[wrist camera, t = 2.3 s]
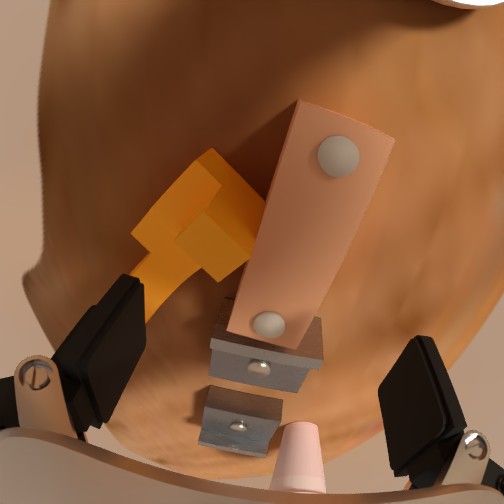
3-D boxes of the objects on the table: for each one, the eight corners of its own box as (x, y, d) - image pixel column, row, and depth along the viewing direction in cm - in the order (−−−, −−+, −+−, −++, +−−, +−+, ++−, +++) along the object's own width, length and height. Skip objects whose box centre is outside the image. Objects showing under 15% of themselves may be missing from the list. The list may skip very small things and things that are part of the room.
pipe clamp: (212, 147, 17) (170, 179, 11) (265, 200, 18) (250, 257, 12) (108, 262, 22) (62, 316, 16) (150, 300, 23) (115, 361, 17)
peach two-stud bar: (298, 99, 15) (300, 102, 10) (367, 124, 15) (398, 140, 10) (240, 279, 21) (225, 335, 16) (297, 296, 21) (295, 354, 16)
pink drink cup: (281, 443, 32) (270, 547, 20) (263, 419, 29) (245, 540, 17) (334, 436, 30) (333, 545, 18) (323, 411, 27) (320, 541, 15)
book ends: (223, 297, 22) (211, 337, 18) (321, 318, 21) (323, 360, 18) (205, 413, 30) (197, 444, 27) (268, 426, 30) (265, 457, 27)
